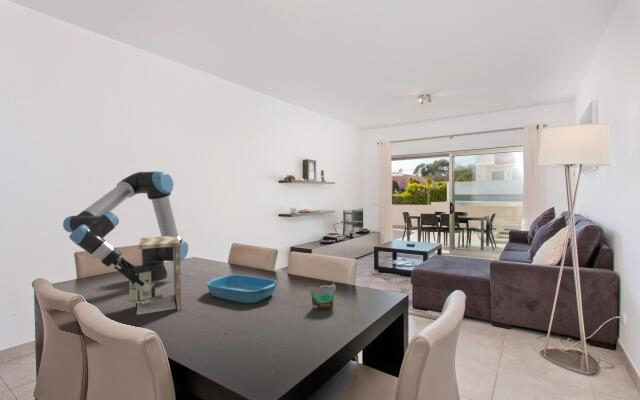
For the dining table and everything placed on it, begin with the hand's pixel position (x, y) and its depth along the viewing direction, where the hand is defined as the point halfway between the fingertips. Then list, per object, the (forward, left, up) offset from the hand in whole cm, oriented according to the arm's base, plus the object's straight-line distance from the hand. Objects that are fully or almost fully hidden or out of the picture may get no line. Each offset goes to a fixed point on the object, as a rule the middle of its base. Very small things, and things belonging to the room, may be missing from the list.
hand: (149, 285), depth 146 cm
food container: (-50, +60, -10) cm, 79 cm away
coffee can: (+3, -1, -6) cm, 6 cm away
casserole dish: (-37, +17, -10) cm, 42 cm away
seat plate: (-2, 0, -9) cm, 10 cm away
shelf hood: (-4, +1, -9) cm, 10 cm away
